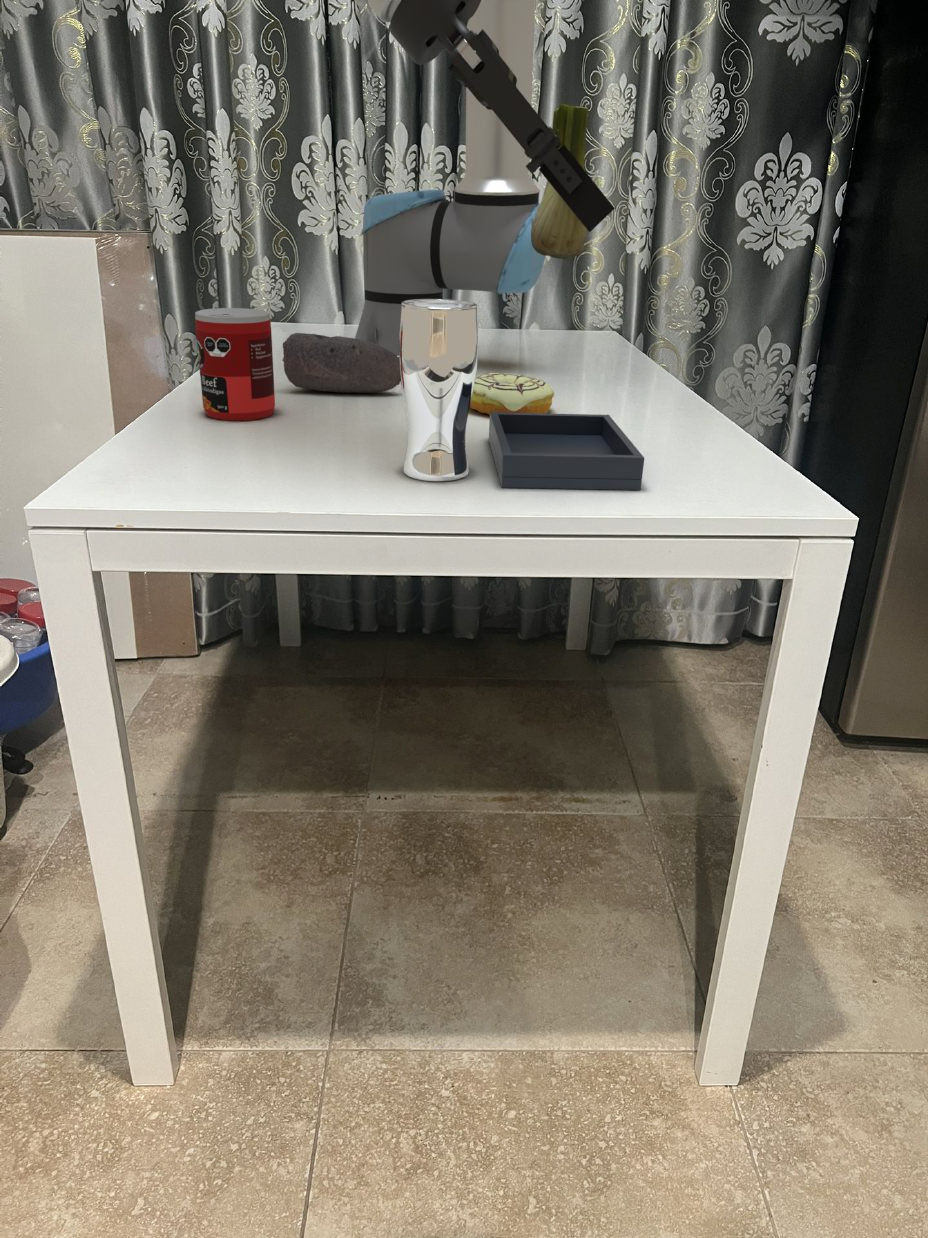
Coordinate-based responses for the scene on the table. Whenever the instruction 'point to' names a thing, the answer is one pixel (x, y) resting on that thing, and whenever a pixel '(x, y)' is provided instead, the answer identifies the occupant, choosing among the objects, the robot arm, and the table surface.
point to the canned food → (235, 363)
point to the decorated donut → (510, 394)
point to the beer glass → (437, 384)
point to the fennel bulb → (554, 219)
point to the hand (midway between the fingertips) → (601, 218)
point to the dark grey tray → (563, 452)
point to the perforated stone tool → (339, 364)
